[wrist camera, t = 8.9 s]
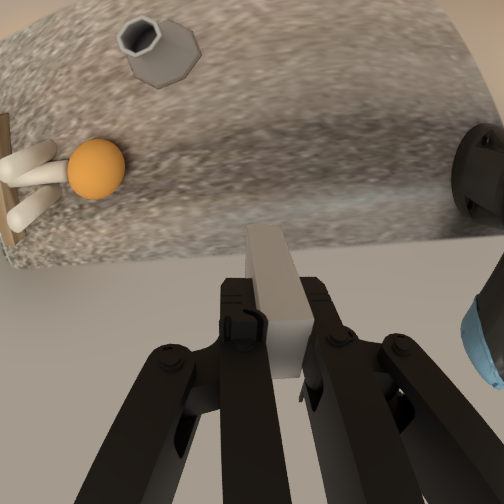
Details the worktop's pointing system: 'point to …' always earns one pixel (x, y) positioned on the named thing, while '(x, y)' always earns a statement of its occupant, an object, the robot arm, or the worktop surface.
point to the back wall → (7, 188)
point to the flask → (158, 50)
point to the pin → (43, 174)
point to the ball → (96, 169)
